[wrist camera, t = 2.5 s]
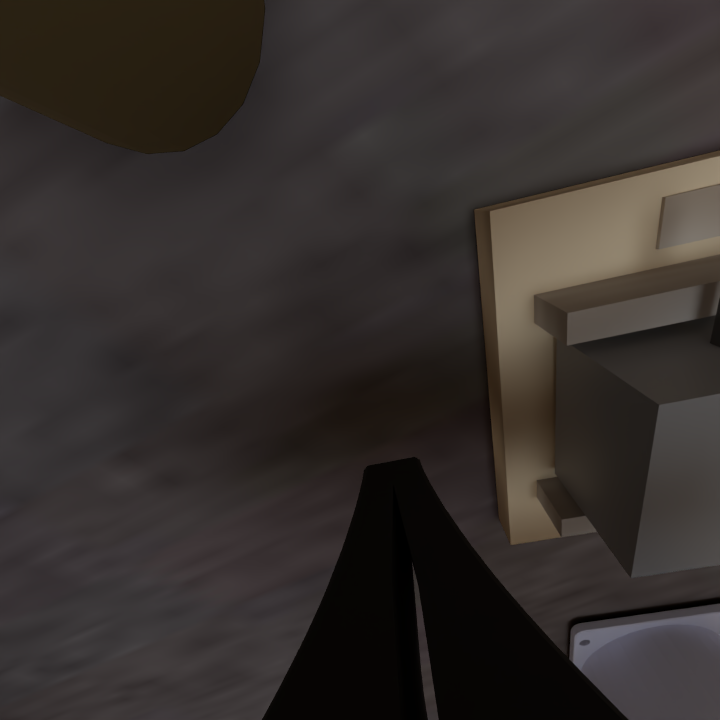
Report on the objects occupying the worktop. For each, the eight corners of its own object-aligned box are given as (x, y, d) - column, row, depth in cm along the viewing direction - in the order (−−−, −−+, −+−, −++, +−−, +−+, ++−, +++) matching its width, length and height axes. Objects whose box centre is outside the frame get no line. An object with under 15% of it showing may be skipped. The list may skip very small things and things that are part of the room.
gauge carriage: (715, 445, 11) (859, 544, 8) (554, 473, 11) (630, 578, 8) (783, 179, 8) (1072, 167, 5) (558, 231, 8) (683, 253, 5)
